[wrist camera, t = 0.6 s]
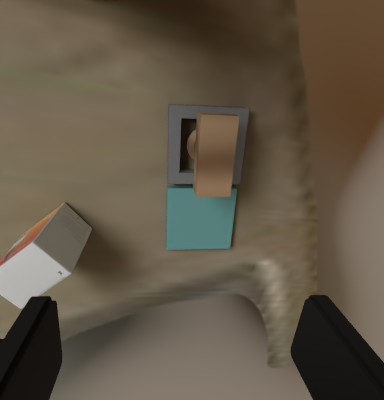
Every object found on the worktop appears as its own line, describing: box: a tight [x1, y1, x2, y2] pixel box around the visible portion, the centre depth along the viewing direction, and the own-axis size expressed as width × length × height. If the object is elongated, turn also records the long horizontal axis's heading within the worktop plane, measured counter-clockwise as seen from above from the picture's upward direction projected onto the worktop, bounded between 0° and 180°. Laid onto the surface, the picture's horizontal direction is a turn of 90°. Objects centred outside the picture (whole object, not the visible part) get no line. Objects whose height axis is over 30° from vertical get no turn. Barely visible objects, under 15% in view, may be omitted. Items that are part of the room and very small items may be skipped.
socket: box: [167, 104, 249, 184], centre depth 36 cm, size 10×10×2 cm
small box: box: [0, 202, 92, 309], centre depth 34 cm, size 8×6×10 cm
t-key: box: [186, 112, 239, 197], centre depth 33 cm, size 9×5×8 cm, turn 177°
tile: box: [166, 186, 237, 250], centre depth 40 cm, size 10×10×1 cm
